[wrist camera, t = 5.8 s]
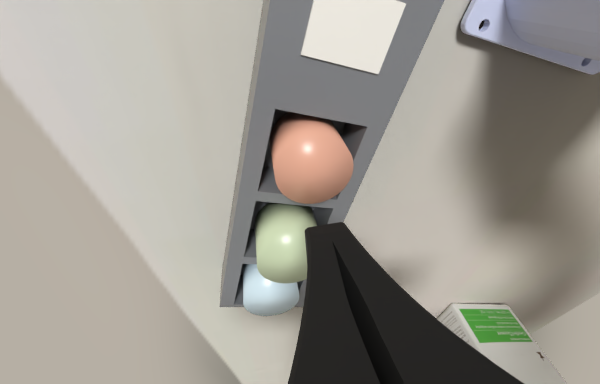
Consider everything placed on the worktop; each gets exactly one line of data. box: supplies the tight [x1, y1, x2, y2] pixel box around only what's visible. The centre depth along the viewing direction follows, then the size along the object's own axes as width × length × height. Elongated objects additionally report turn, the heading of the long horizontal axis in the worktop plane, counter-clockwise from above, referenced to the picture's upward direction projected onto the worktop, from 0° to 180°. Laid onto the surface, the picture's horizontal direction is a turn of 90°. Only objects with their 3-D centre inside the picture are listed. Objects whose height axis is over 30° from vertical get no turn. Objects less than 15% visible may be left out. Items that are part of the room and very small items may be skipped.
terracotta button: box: [269, 112, 354, 204], centre depth 14 cm, size 4×4×3 cm
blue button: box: [243, 264, 300, 316], centre depth 19 cm, size 4×4×3 cm
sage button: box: [255, 202, 317, 283], centre depth 16 cm, size 4×4×3 cm
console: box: [220, 0, 444, 307], centre depth 16 cm, size 6×20×3 cm, turn 165°
